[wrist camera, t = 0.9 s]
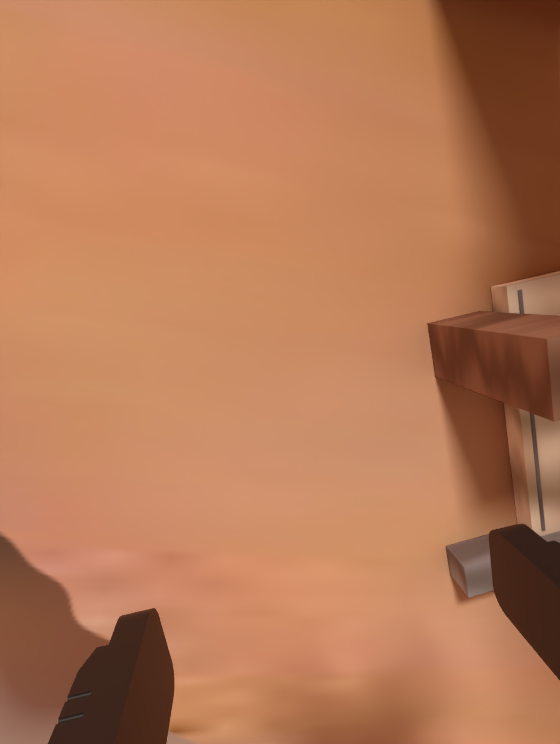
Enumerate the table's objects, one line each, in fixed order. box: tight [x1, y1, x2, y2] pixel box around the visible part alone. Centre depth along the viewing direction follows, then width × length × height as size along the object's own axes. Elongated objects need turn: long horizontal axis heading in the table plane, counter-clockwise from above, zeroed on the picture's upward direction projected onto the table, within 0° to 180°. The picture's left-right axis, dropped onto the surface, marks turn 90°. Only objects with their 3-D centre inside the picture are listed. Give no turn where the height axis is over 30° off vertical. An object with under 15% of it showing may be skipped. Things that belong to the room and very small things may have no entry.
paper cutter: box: [446, 271, 560, 598], centre depth 35 cm, size 25×17×3 cm
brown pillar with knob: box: [427, 311, 560, 422], centre depth 28 cm, size 4×4×14 cm
